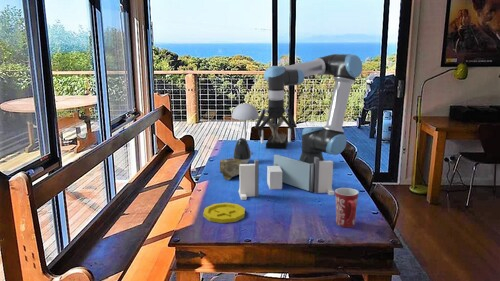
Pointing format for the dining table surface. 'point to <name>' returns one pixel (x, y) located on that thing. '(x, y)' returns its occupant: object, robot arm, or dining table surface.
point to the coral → (276, 135)
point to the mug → (346, 206)
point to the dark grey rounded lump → (242, 151)
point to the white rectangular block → (274, 177)
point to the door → (296, 172)
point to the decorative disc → (224, 212)
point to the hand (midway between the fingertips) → (275, 142)
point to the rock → (230, 167)
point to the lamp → (245, 114)
